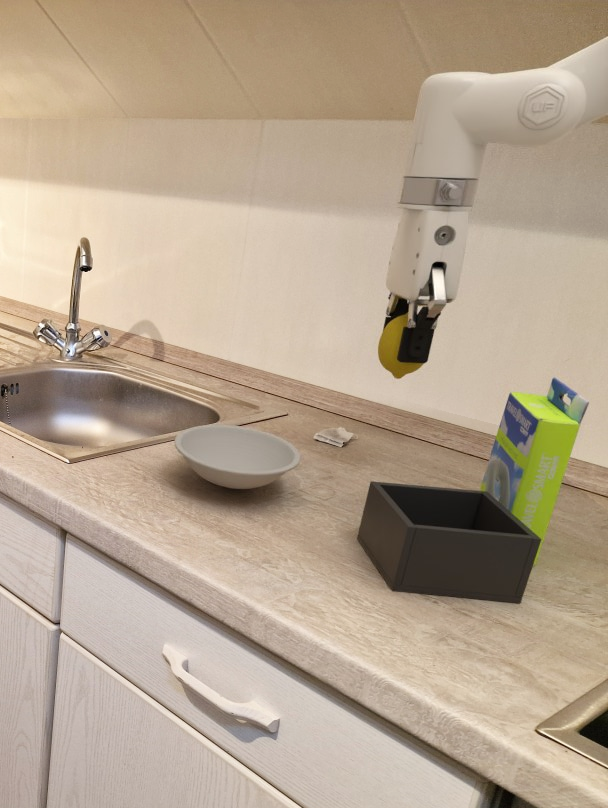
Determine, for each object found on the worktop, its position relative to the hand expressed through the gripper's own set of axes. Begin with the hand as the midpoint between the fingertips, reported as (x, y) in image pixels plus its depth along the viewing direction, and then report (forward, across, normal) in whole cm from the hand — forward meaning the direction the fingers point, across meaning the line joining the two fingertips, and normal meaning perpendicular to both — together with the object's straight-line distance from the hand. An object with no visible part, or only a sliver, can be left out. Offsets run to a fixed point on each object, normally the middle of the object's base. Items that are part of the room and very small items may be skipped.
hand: (402, 354), depth 101 cm
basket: (+16, -25, +2) cm, 30 cm away
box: (+16, -16, -8) cm, 25 cm away
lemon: (+3, 0, 0) cm, 3 cm away
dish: (+16, -7, +19) cm, 26 cm away
